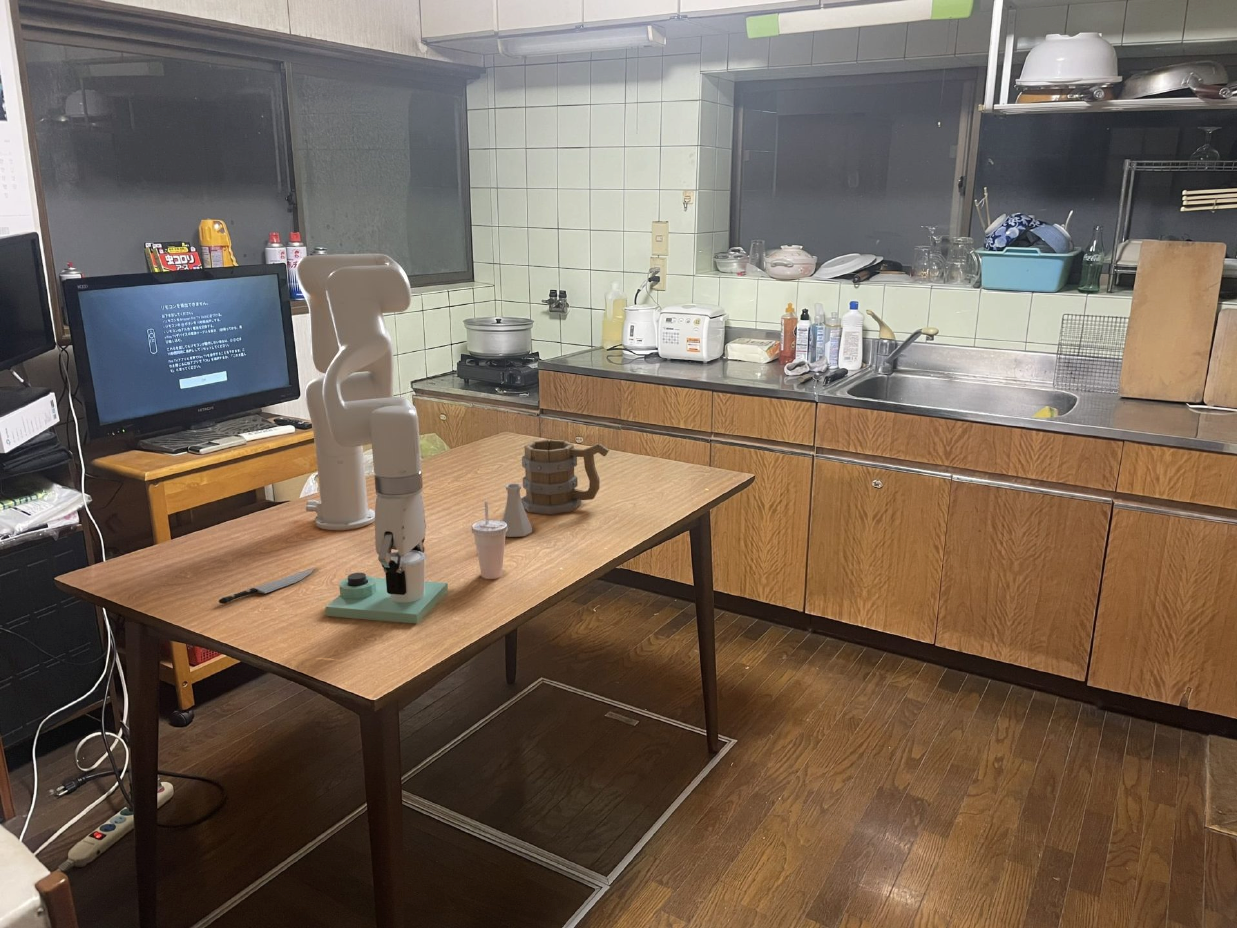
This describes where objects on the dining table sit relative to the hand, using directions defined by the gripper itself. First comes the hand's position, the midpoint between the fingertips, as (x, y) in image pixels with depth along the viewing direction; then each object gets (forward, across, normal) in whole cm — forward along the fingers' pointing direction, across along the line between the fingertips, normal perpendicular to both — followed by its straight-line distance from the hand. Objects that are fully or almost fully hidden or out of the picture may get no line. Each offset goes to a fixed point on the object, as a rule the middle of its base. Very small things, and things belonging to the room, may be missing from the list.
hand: (406, 583), depth 153 cm
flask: (+4, -38, +7) cm, 39 cm away
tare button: (+1, 0, -9) cm, 9 cm away
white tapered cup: (+2, 0, 0) cm, 2 cm away
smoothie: (+4, -15, +10) cm, 18 cm away
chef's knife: (+4, -2, -26) cm, 27 cm away
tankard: (+4, -56, +13) cm, 57 cm away
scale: (+4, 0, -3) cm, 5 cm away
